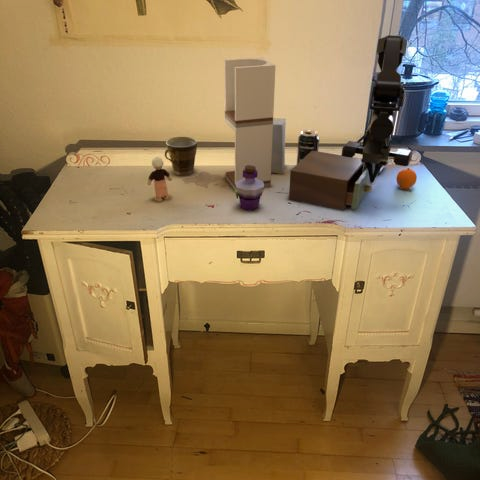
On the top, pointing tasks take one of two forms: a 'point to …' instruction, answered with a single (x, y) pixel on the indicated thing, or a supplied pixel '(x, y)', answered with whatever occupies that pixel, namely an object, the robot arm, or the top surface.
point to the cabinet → (323, 179)
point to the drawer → (358, 188)
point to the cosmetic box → (278, 146)
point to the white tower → (250, 115)
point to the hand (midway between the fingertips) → (372, 182)
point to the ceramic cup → (182, 154)
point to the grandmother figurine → (159, 179)
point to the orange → (406, 178)
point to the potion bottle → (249, 189)
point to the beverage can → (307, 144)
